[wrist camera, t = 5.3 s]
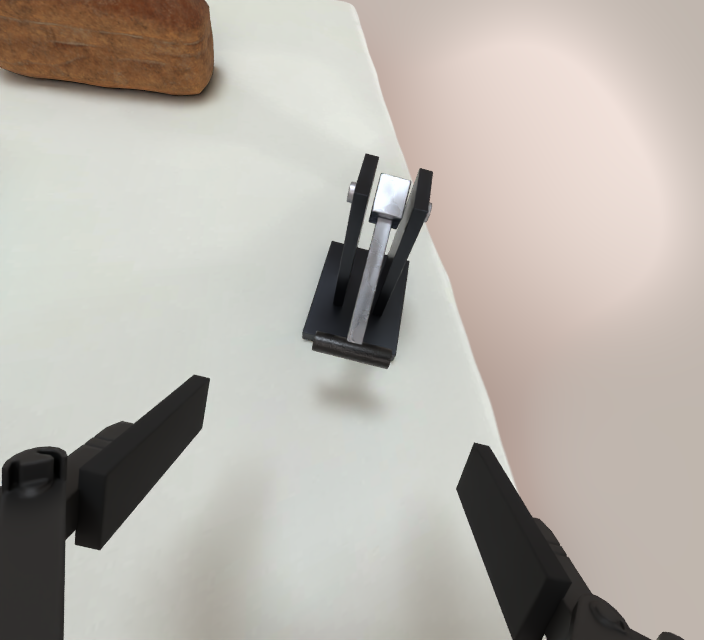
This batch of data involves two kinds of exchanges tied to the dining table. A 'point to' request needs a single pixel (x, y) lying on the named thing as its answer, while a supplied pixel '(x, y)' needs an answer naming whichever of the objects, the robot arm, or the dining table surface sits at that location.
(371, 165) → the bracket
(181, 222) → the dining table surface
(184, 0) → the bread
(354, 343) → the lever
